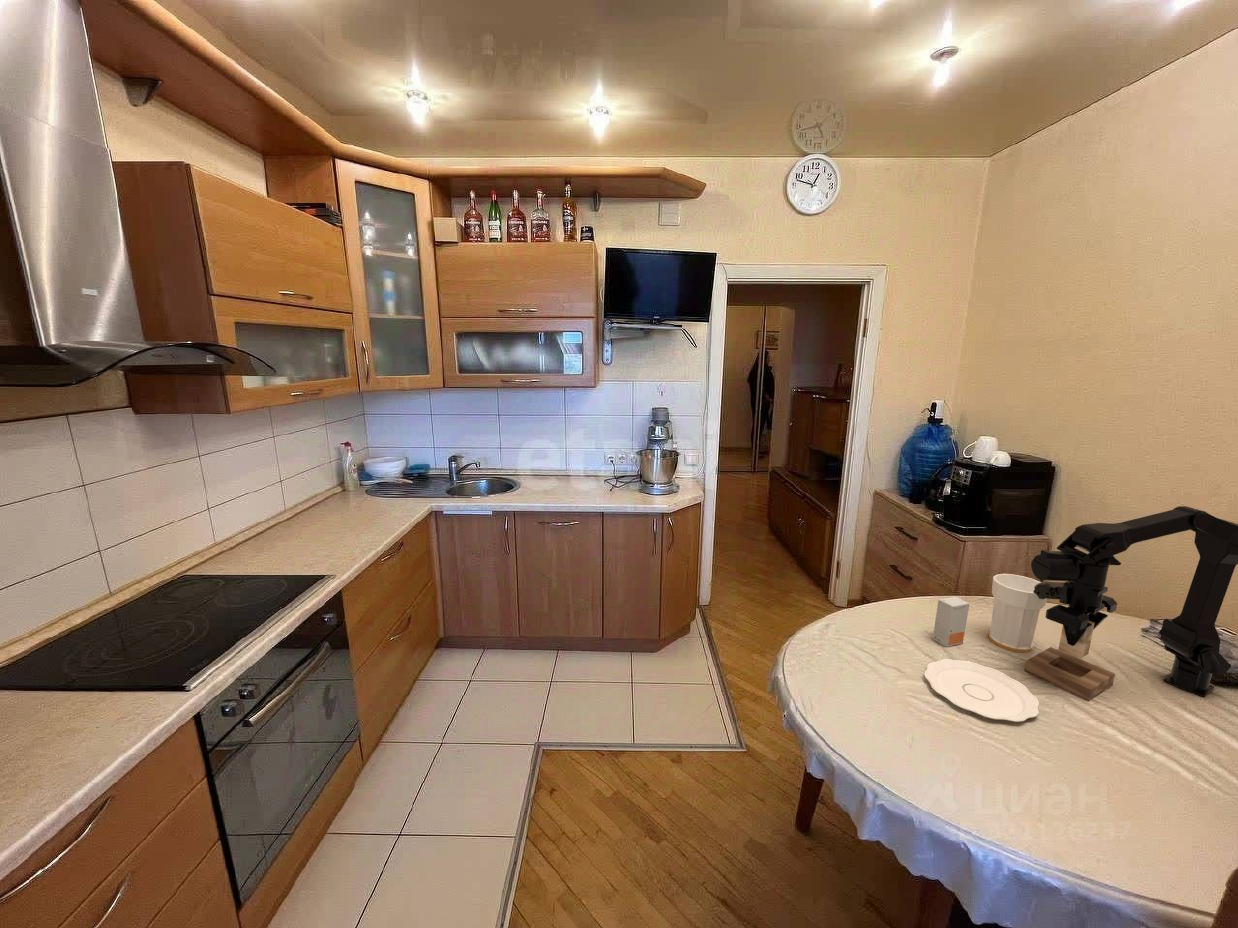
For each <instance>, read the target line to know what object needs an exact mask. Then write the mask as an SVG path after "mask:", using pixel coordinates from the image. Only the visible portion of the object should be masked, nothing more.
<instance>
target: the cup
mask: <svg viewBox="0 0 1238 928" xmlns="http://www.w3.org/2000/svg"><path fill="white" fill-rule="evenodd" d="M992 577H993V578H992V587H991V595H992V597H993V598H994V599H993V606H992V614H991V623H990V631H989V635H988V638H989V640H990V641H991V642H992V643H993V644H995V645H996V646H998V647H1000V648H1003V649H1005V650H1008V651H1011V652H1014V653H1016V652H1017V653H1030V652H1031V651H1032V650H1033V647H1034V645H1033V641H1034V638H1035V632H1036V629H1037V624H1038V619H1039V615H1040V613H1041V612H1040V611H1041V610H1042V609H1043V608H1044V607H1045V606H1046V605H1047V602H1048V599H1039V598H1038V596H1037V595H1036V594H1035V593H1034V592H1033V591H1034V590H1035V588H1034V587H1035V585H1037V584H1039V583H1042V582H1041V581H1040V580H1039V581H1038V580H1036V579H1034V578H1031V577H1027V576H1023V575H1018V574H1012V573H1011V574H1010V573H998V574H996V575H993V576H992Z"/></svg>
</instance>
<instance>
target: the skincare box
mask: <svg viewBox="0 0 1238 928" xmlns="http://www.w3.org/2000/svg"><path fill="white" fill-rule="evenodd" d="M969 609H970V603H969V602H968V601H965V600H963V599H961V598H959V597H958V596H950V597H945V598H939V599H938V600H937V608H936V614H935V621H934V627H933V632H932V633H933V634H932V640H934V641H935V642H937V643H938V644H940V645H942V646H943V647H945V648H948V647H953V646H956V645H962V644H963V643H964V638H965V632H966V627H967V622H968V621H967V620H968V615H969Z"/></svg>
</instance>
